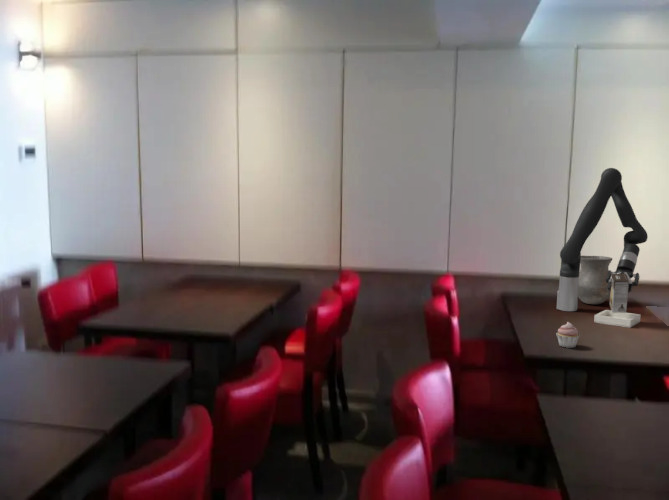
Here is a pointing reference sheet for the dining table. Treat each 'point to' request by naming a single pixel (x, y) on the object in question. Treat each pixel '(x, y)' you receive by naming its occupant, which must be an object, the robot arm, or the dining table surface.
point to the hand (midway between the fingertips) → (618, 290)
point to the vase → (593, 279)
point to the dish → (617, 318)
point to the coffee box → (619, 293)
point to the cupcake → (567, 336)
